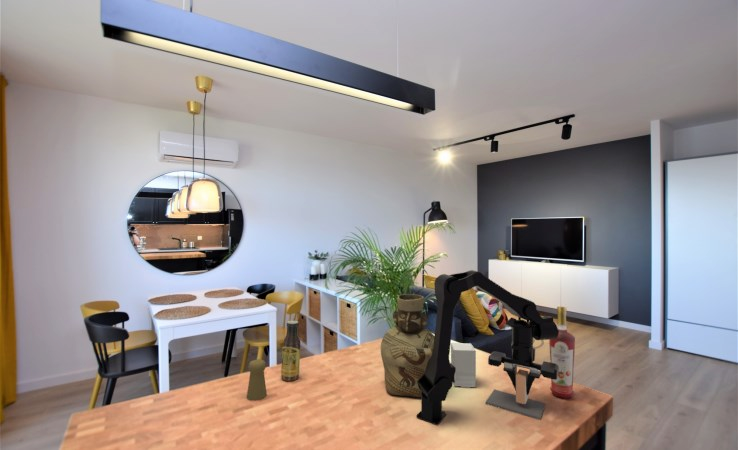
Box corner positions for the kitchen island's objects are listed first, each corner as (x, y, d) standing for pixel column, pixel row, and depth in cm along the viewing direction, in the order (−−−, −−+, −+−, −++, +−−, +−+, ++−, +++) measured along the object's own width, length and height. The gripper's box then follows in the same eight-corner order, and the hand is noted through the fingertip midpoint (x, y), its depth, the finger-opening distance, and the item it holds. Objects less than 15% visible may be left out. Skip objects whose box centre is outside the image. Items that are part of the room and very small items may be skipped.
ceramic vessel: (420, 409, 100) (421, 306, 100) (368, 386, 114) (369, 297, 114) (453, 387, 113) (453, 297, 114) (402, 369, 128) (403, 290, 128)
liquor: (575, 393, 110) (575, 306, 111) (574, 403, 104) (574, 311, 104) (550, 387, 114) (550, 304, 115) (547, 396, 108) (547, 308, 108)
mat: (540, 419, 95) (540, 417, 95) (485, 403, 103) (485, 401, 103) (545, 404, 103) (545, 402, 103) (494, 391, 111) (494, 389, 111)
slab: (525, 404, 99) (525, 376, 99) (515, 401, 101) (515, 374, 101) (528, 397, 103) (528, 371, 103) (519, 395, 105) (519, 369, 105)
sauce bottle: (278, 381, 117) (278, 323, 118) (285, 373, 124) (286, 318, 124) (295, 382, 116) (296, 324, 117) (302, 375, 122) (303, 319, 123)
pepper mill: (260, 401, 103) (261, 365, 104) (242, 399, 105) (243, 363, 105) (270, 392, 109) (270, 358, 110) (253, 390, 111) (253, 356, 111)
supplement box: (471, 378, 121) (471, 343, 121) (476, 388, 113) (476, 350, 113) (450, 377, 121) (450, 342, 122) (453, 387, 114) (453, 349, 114)
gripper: (560, 339, 103) (560, 391, 103) (497, 329, 114) (496, 375, 114) (556, 350, 94) (556, 406, 94) (487, 337, 105) (487, 388, 105)
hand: (522, 393), depth 102 cm, fingers closed on slab, 3 cm apart
